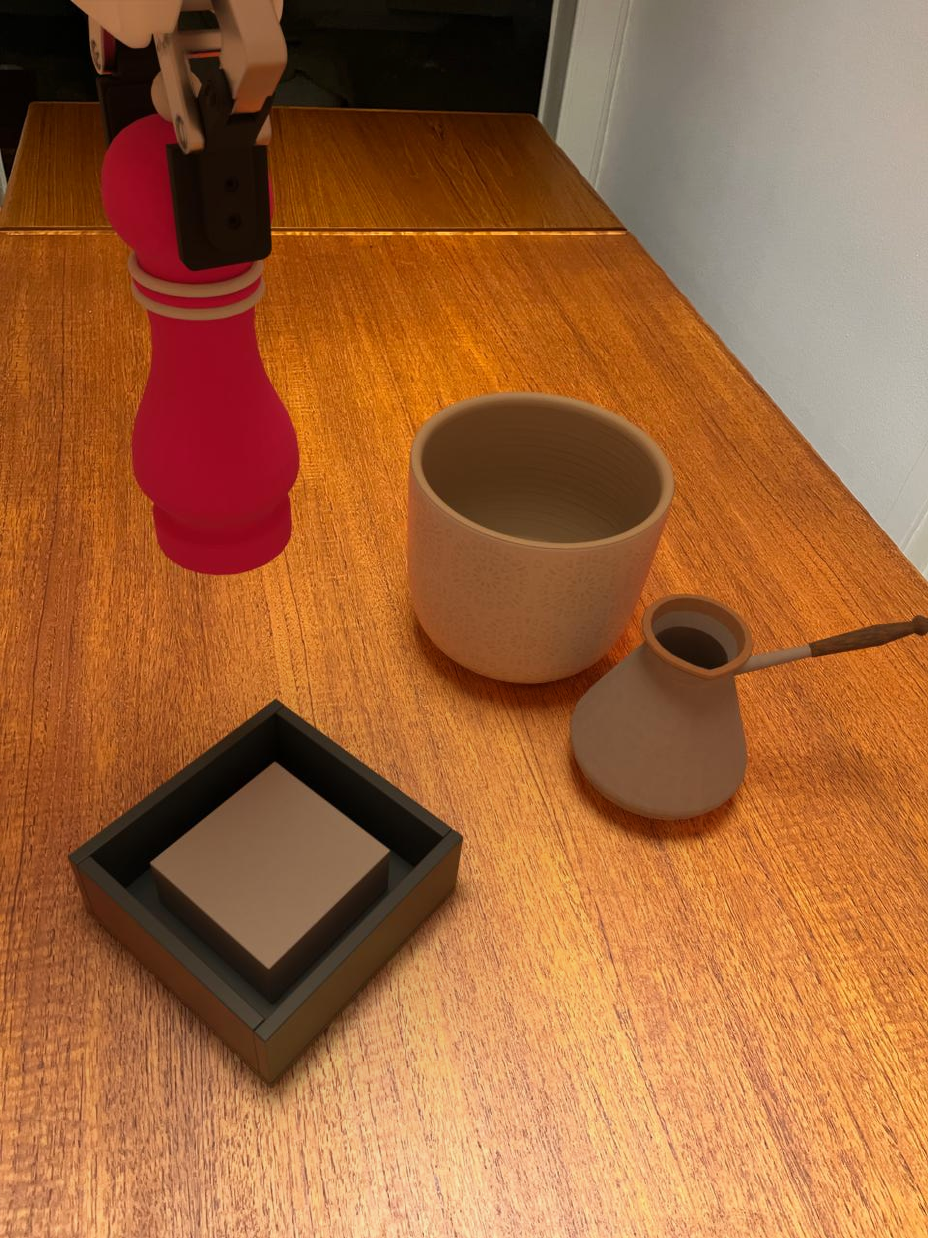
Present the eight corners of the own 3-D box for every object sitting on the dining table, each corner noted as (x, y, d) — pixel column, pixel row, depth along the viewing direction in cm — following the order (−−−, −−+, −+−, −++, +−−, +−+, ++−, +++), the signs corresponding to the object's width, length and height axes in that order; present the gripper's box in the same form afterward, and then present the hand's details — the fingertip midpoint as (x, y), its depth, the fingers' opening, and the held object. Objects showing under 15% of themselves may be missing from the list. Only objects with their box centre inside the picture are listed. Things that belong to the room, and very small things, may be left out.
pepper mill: (117, 523, 46) (20, 50, 32) (246, 470, 50) (209, 27, 36) (200, 606, 43) (132, 117, 29) (332, 542, 46) (329, 83, 32)
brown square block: (159, 901, 54) (149, 862, 51) (278, 800, 59) (274, 760, 57) (272, 1005, 50) (268, 969, 48) (388, 888, 56) (390, 850, 53)
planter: (420, 729, 65) (435, 557, 54) (384, 562, 77) (391, 393, 66) (658, 705, 68) (716, 539, 58) (589, 548, 80) (627, 386, 70)
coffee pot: (573, 840, 60) (622, 677, 49) (554, 698, 68) (592, 532, 58) (904, 846, 62) (1019, 690, 51) (847, 707, 70) (936, 548, 59)
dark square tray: (86, 911, 54) (66, 856, 50) (279, 754, 63) (275, 697, 59) (271, 1089, 48) (264, 1043, 44) (455, 889, 57) (464, 836, 53)
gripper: (-133, -536, 27) (19, 153, 39) (55, -589, 17) (178, 354, 29) (138, -488, 30) (198, 133, 42) (427, -510, 20) (394, 308, 33)
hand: (189, 218), depth 36 cm, fingers closed on pepper mill, 6 cm apart
